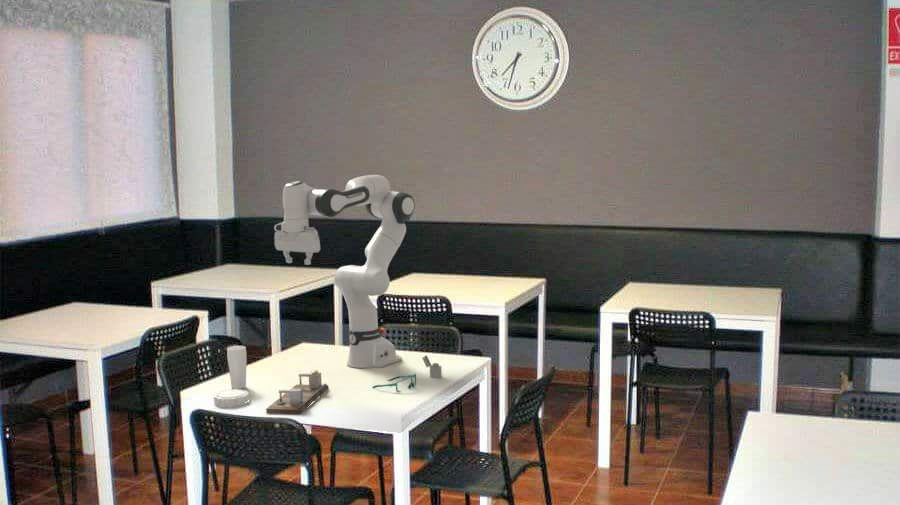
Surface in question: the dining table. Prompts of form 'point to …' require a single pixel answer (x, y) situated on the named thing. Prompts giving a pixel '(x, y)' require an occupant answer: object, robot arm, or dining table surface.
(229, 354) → the drinking glass
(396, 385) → the teal eyeglasses
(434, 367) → the lighter
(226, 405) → the white round disc
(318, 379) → the slider leg
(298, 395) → the fixed leg
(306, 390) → the gauge board
